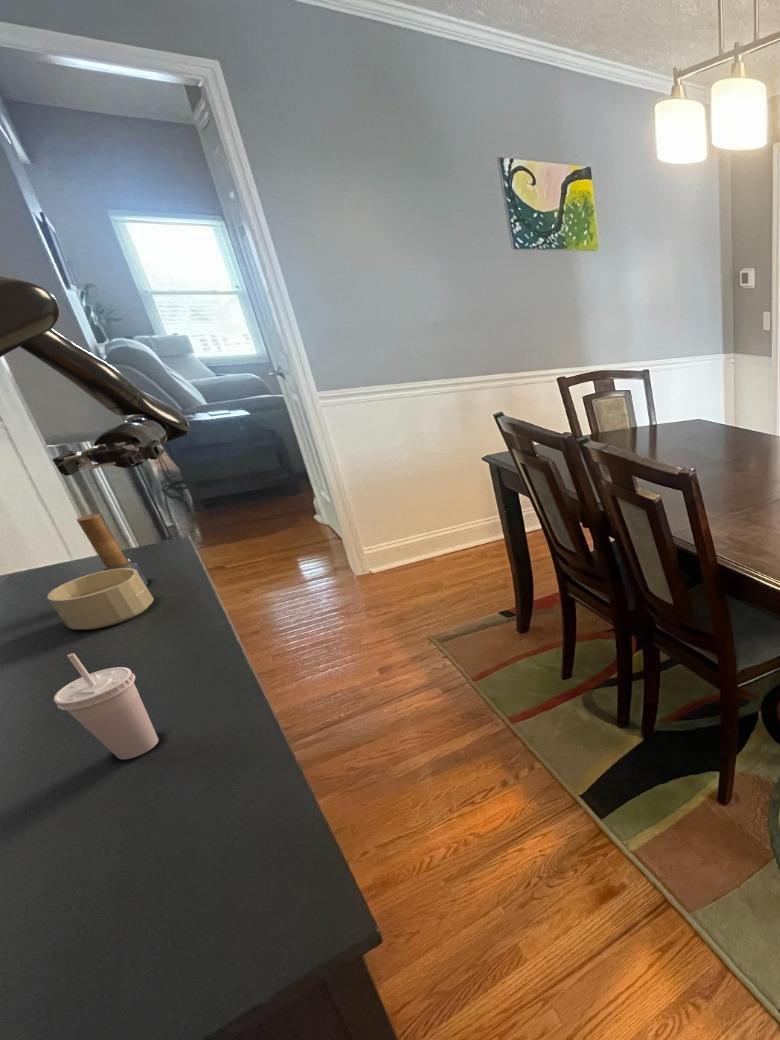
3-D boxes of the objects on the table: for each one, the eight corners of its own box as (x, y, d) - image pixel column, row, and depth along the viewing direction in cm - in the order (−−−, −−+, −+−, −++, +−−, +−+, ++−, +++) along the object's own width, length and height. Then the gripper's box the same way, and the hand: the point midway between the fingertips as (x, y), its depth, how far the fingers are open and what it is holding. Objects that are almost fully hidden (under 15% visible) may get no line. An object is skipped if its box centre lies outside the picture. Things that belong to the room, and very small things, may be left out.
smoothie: (103, 777, 67) (27, 679, 61) (99, 750, 71) (28, 655, 64) (176, 745, 71) (113, 650, 65) (169, 721, 75) (108, 629, 69)
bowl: (50, 636, 94) (27, 604, 91) (100, 602, 103) (81, 572, 101) (127, 626, 96) (107, 594, 93) (169, 594, 105) (152, 564, 102)
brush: (107, 596, 106) (61, 524, 99) (125, 583, 109) (82, 513, 103) (137, 592, 106) (93, 520, 100) (154, 579, 110) (113, 510, 104)
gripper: (72, 431, 116) (29, 452, 103) (164, 420, 121) (135, 439, 108) (93, 468, 119) (54, 493, 106) (182, 456, 125) (156, 478, 112)
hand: (95, 465), depth 107 cm, fingers open, 8 cm apart
